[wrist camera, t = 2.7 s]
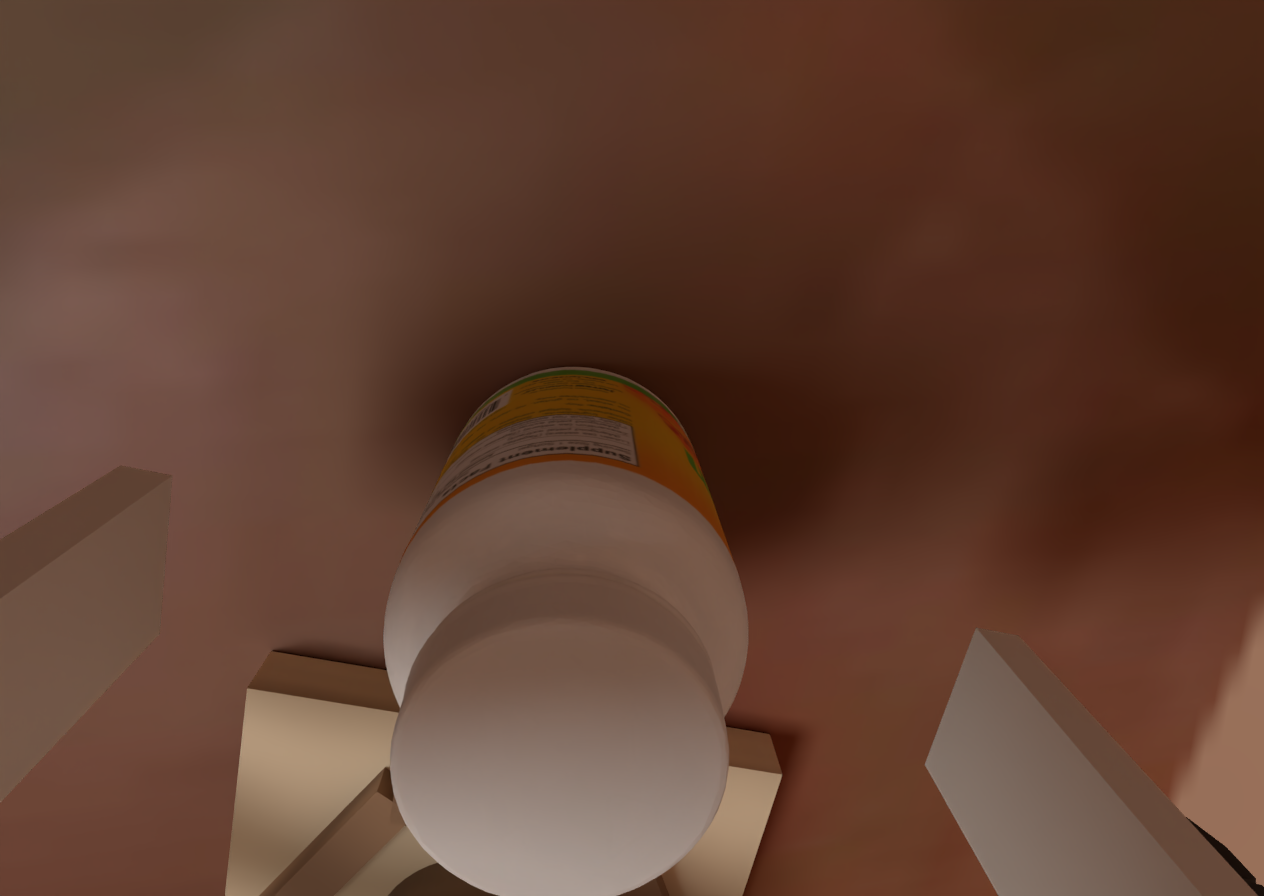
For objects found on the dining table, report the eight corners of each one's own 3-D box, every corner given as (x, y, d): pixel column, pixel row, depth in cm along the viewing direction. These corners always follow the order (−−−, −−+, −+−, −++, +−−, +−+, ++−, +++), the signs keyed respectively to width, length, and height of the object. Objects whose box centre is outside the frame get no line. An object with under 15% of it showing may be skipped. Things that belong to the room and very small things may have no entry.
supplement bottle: (700, 583, 20) (793, 937, 11) (465, 598, 20) (362, 971, 11) (693, 353, 19) (795, 547, 9) (437, 368, 19) (286, 581, 9)
